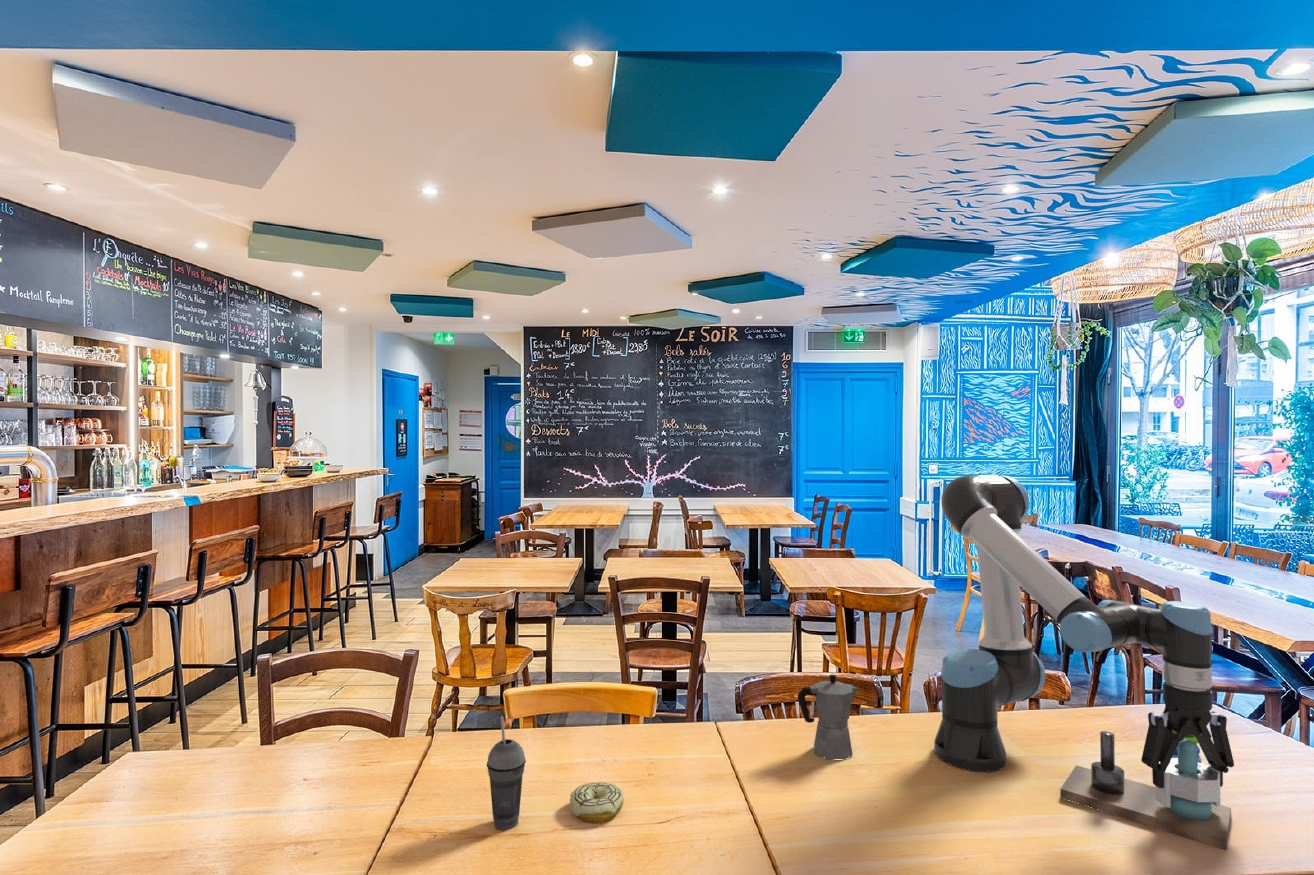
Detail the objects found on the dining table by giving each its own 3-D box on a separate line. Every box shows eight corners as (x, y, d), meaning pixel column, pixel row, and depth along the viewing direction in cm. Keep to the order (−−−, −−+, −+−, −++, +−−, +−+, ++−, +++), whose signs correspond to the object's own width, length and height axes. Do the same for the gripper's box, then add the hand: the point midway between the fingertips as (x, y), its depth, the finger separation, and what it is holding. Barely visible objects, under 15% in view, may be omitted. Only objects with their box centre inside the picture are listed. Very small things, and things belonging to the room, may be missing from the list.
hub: (1162, 811, 131) (1162, 740, 131) (1167, 797, 136) (1167, 729, 136) (1209, 825, 126) (1209, 751, 126) (1213, 810, 131) (1212, 739, 131)
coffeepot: (848, 740, 167) (848, 666, 167) (869, 758, 157) (868, 679, 158) (789, 746, 163) (789, 671, 163) (806, 764, 154) (806, 684, 154)
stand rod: (1088, 788, 140) (1088, 734, 140) (1094, 778, 144) (1094, 725, 144) (1121, 797, 136) (1121, 742, 136) (1126, 787, 140) (1126, 733, 140)
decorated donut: (568, 827, 129) (568, 807, 129) (571, 798, 140) (571, 779, 140) (623, 825, 130) (623, 805, 130) (622, 796, 141) (622, 777, 141)
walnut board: (1060, 798, 139) (1060, 788, 139) (1076, 774, 150) (1076, 765, 150) (1226, 850, 122) (1226, 838, 122) (1231, 818, 132) (1231, 808, 132)
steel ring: (1146, 778, 135) (1146, 758, 135) (1191, 778, 136) (1191, 757, 136) (1183, 802, 126) (1183, 781, 126) (1231, 801, 127) (1231, 780, 127)
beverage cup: (506, 838, 125) (506, 728, 125) (478, 827, 129) (478, 720, 129) (533, 820, 131) (533, 715, 131) (505, 809, 135) (506, 707, 135)
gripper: (1146, 692, 127) (1147, 815, 127) (1259, 691, 128) (1260, 812, 128) (1117, 679, 135) (1118, 794, 134) (1224, 677, 135) (1225, 792, 135)
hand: (1187, 803), depth 131 cm, fingers closed on steel ring, 9 cm apart
